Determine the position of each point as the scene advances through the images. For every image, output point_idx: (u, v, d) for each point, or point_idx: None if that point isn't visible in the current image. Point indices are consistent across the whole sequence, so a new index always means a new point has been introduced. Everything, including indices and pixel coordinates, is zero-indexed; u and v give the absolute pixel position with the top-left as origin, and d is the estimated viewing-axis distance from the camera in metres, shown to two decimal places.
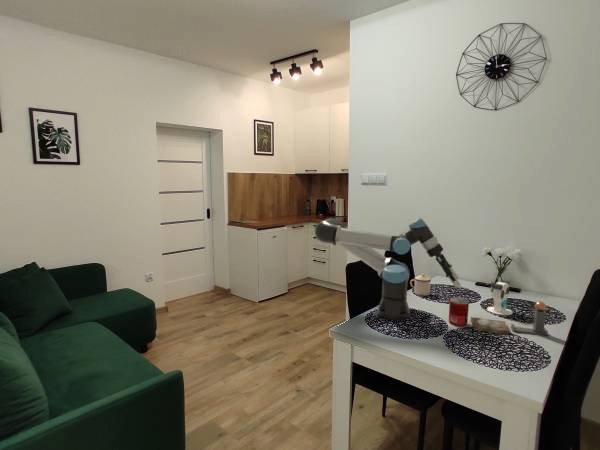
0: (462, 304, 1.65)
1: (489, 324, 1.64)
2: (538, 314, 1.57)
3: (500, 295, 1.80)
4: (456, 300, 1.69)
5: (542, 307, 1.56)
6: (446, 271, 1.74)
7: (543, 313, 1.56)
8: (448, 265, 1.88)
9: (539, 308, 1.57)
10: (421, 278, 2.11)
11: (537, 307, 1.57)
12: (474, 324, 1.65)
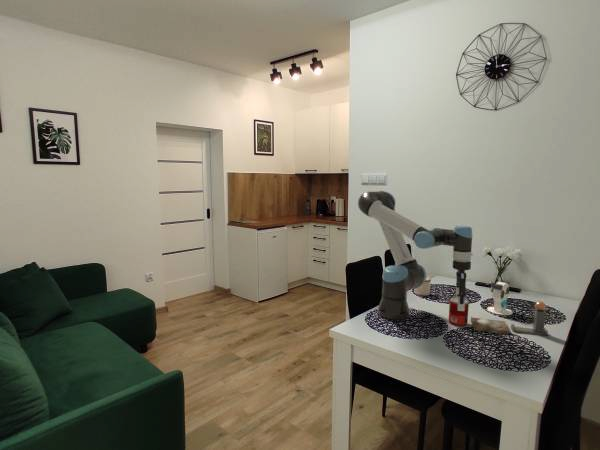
0: None
1: (489, 324, 1.64)
2: (538, 314, 1.57)
3: (500, 295, 1.80)
4: (456, 300, 1.69)
5: (542, 307, 1.56)
6: (461, 291, 1.59)
7: (543, 313, 1.56)
8: None
9: (539, 308, 1.57)
10: None
11: (537, 307, 1.57)
12: (474, 324, 1.65)
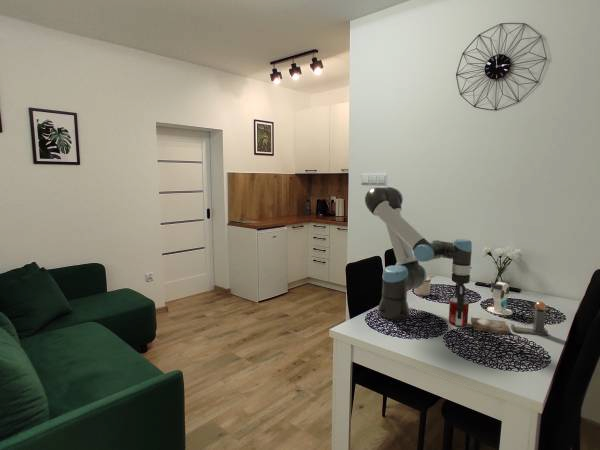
0: None
1: (489, 324, 1.64)
2: (538, 314, 1.57)
3: (500, 295, 1.80)
4: (456, 300, 1.69)
5: (542, 307, 1.56)
6: (459, 307, 1.62)
7: (543, 313, 1.56)
8: None
9: (539, 308, 1.57)
10: None
11: (537, 307, 1.57)
12: (474, 324, 1.65)
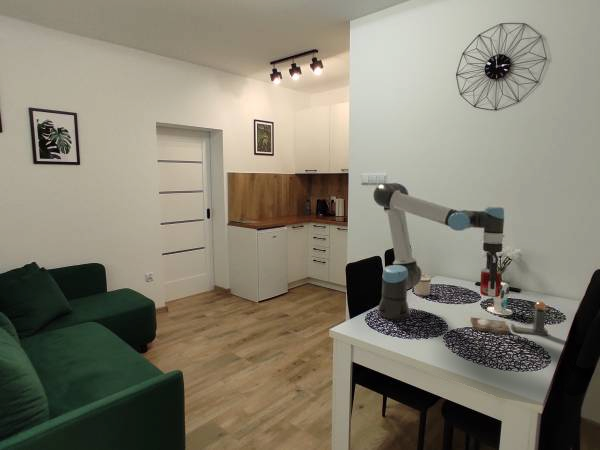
0: None
1: (489, 324, 1.64)
2: (538, 314, 1.57)
3: (500, 295, 1.80)
4: (488, 270, 1.63)
5: (542, 307, 1.56)
6: (492, 276, 1.56)
7: (543, 313, 1.56)
8: None
9: (539, 308, 1.57)
10: (421, 278, 2.11)
11: (537, 307, 1.57)
12: (474, 324, 1.65)
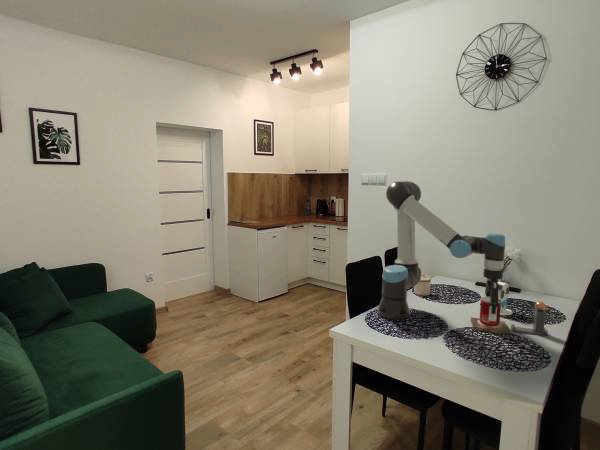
0: (495, 303, 1.61)
1: None
2: (538, 314, 1.57)
3: (500, 295, 1.80)
4: (487, 299, 1.65)
5: (542, 307, 1.56)
6: (494, 301, 1.55)
7: (543, 313, 1.56)
8: None
9: (539, 308, 1.57)
10: (421, 278, 2.11)
11: (537, 307, 1.57)
12: (474, 324, 1.65)
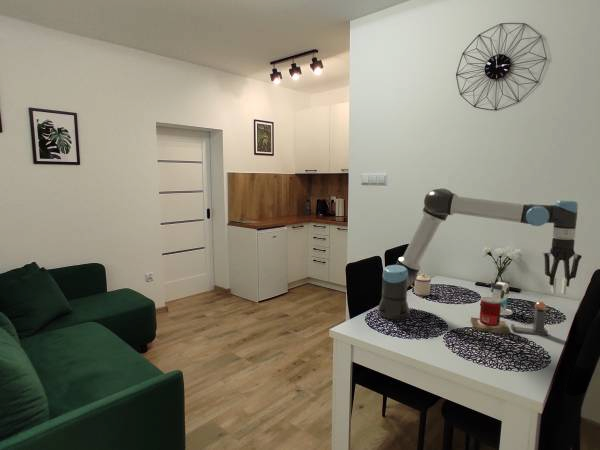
0: (495, 303, 1.60)
1: None
2: (538, 314, 1.57)
3: (500, 295, 1.80)
4: (488, 299, 1.65)
5: (542, 307, 1.56)
6: (545, 270, 1.56)
7: (543, 313, 1.56)
8: (566, 273, 1.53)
9: (539, 308, 1.57)
10: (421, 278, 2.11)
11: (537, 307, 1.57)
12: (474, 324, 1.65)
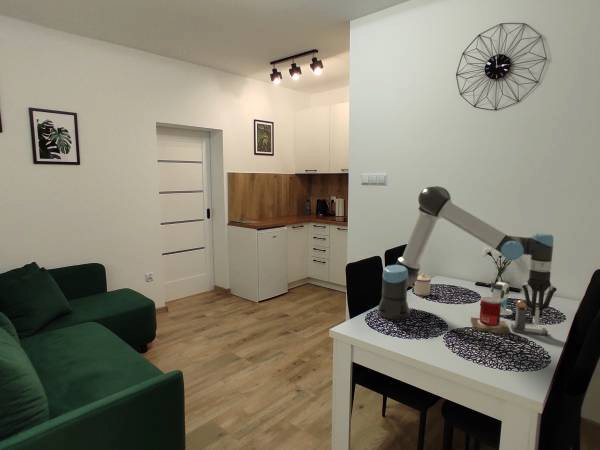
0: (495, 303, 1.60)
1: None
2: (519, 312, 1.59)
3: (500, 295, 1.80)
4: (488, 299, 1.65)
5: (523, 305, 1.58)
6: (526, 301, 1.60)
7: (524, 311, 1.58)
8: (539, 303, 1.57)
9: (520, 306, 1.59)
10: (421, 278, 2.11)
11: (518, 305, 1.59)
12: (474, 324, 1.65)
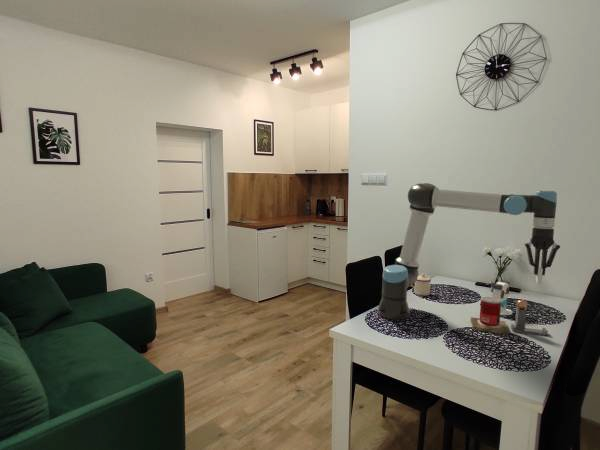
0: (495, 303, 1.61)
1: None
2: (519, 312, 1.59)
3: (500, 295, 1.80)
4: (488, 299, 1.65)
5: (523, 305, 1.58)
6: (529, 260, 1.58)
7: (524, 311, 1.58)
8: (542, 262, 1.55)
9: (520, 306, 1.59)
10: (421, 278, 2.11)
11: (518, 305, 1.59)
12: (474, 324, 1.65)
